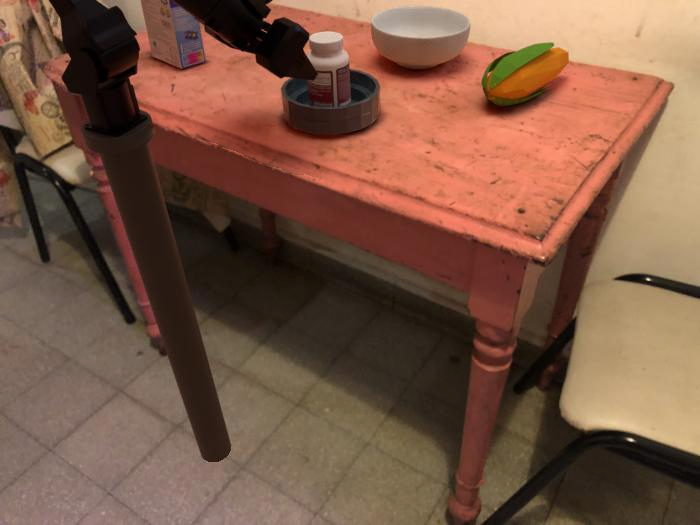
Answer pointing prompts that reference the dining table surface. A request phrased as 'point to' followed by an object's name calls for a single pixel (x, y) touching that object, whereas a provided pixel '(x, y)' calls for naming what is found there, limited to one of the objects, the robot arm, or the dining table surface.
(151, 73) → the dining table surface
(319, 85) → the pill bottle
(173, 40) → the ink cartridge box
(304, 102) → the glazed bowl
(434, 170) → the dining table surface
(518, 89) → the corn
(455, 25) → the cereal bowl
